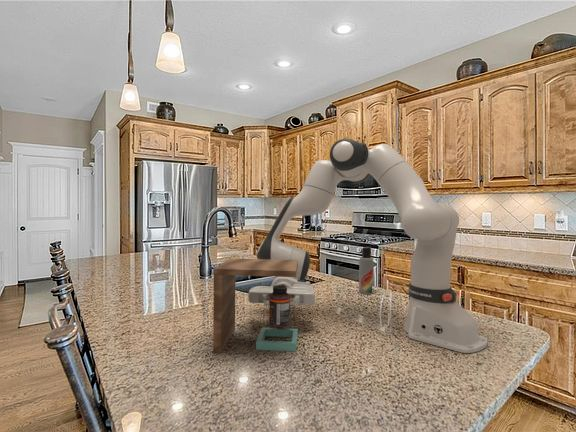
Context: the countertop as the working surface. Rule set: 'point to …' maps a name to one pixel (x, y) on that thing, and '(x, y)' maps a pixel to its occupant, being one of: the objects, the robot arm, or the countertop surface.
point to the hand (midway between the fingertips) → (279, 303)
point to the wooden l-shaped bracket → (226, 290)
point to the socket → (277, 344)
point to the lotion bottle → (366, 272)
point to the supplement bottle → (279, 307)
